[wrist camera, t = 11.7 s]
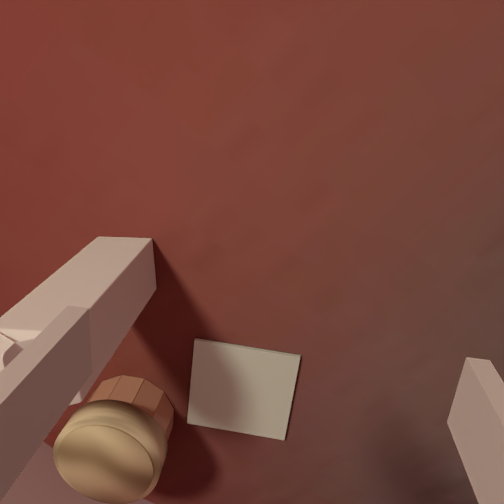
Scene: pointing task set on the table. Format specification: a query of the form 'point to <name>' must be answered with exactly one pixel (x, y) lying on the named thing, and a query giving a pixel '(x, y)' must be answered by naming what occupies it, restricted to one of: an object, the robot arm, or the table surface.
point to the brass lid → (111, 451)
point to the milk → (87, 299)
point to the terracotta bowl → (138, 398)
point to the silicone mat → (241, 388)
